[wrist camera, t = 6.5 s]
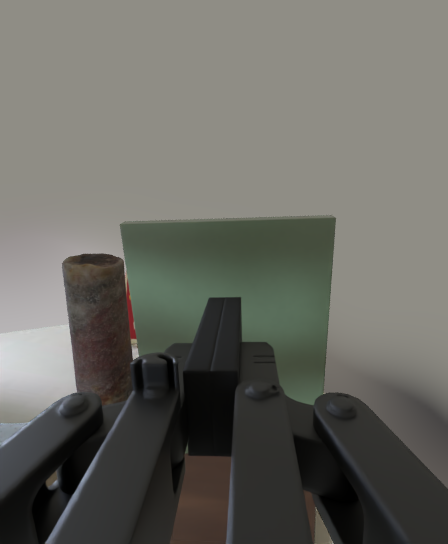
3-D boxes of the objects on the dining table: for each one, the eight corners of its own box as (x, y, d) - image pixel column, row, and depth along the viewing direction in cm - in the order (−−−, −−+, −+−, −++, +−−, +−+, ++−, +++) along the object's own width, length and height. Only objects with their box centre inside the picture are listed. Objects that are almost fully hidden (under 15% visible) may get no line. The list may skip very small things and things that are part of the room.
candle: (127, 379, 50) (113, 250, 45) (146, 403, 44) (131, 256, 39) (74, 398, 46) (52, 257, 41) (86, 427, 40) (62, 266, 35)
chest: (194, 417, 41) (190, 352, 39) (287, 418, 40) (288, 352, 38) (164, 548, 26) (155, 453, 24) (314, 554, 25) (317, 456, 23)
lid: (124, 221, 19) (119, 224, 18) (332, 214, 18) (336, 217, 17) (155, 443, 24) (153, 452, 23) (316, 446, 23) (319, 455, 22)
